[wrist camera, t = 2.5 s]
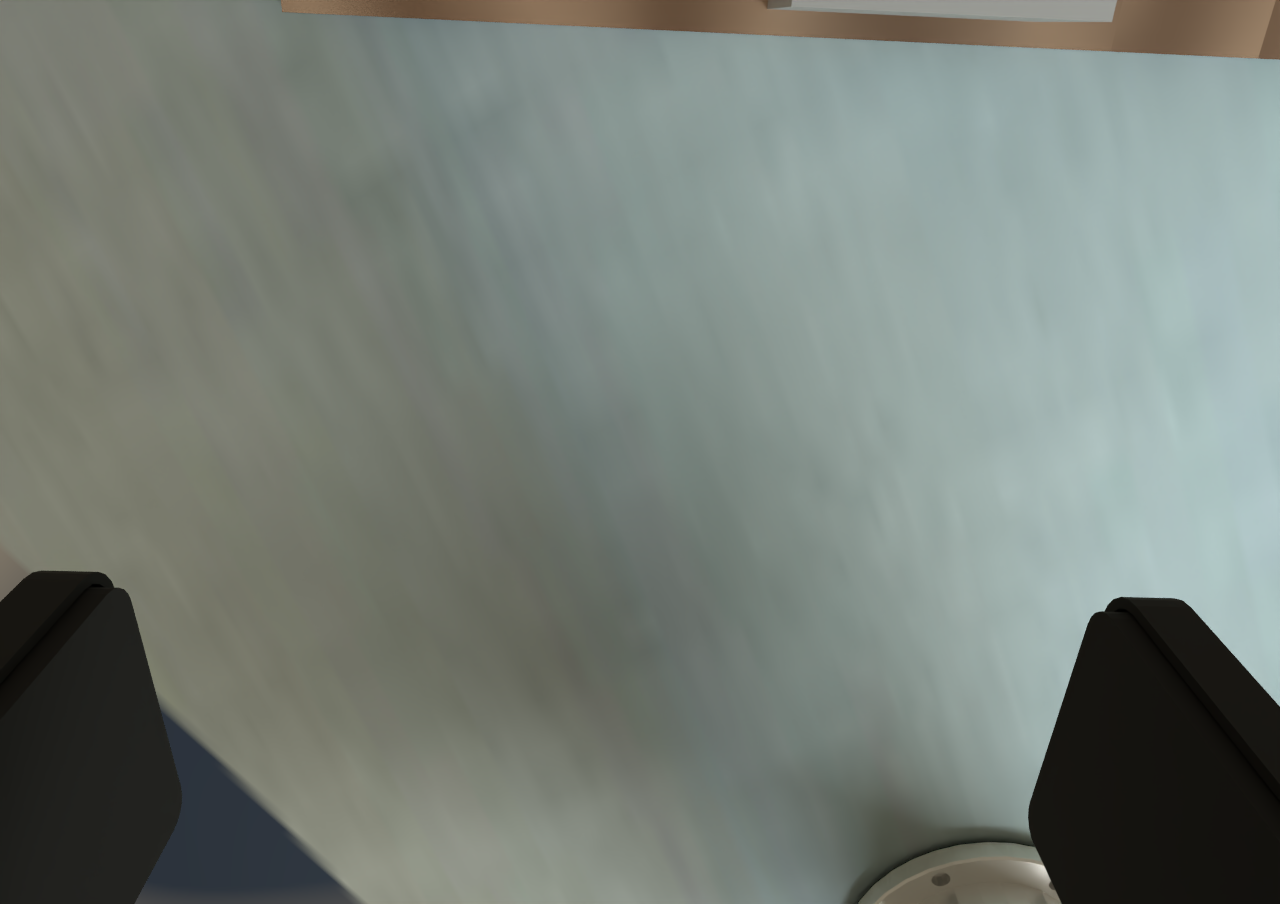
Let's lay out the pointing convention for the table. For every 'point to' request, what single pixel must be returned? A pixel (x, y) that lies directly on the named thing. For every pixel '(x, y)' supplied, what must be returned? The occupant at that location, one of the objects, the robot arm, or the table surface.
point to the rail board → (877, 22)
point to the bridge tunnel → (965, 9)
